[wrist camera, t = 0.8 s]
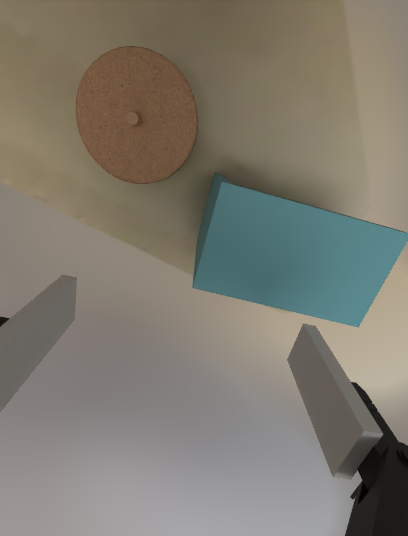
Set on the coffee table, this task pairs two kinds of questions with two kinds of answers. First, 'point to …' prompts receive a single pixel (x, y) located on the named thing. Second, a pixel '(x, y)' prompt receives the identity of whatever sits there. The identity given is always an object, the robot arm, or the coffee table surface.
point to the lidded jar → (136, 115)
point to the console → (292, 254)
